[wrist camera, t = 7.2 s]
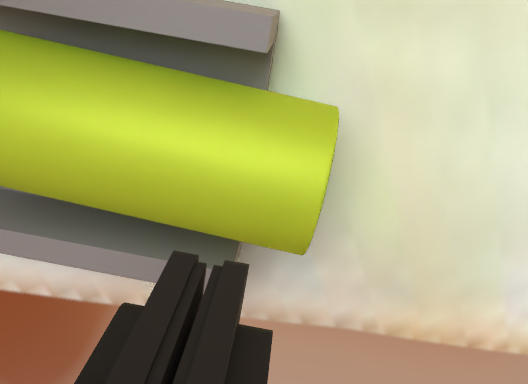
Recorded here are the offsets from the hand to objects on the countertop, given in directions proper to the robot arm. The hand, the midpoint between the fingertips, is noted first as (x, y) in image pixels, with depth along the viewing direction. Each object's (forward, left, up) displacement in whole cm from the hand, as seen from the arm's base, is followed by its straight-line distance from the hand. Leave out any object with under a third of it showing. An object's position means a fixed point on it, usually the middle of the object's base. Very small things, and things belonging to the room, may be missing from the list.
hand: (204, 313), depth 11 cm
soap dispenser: (-3, 0, -10) cm, 10 cm away
